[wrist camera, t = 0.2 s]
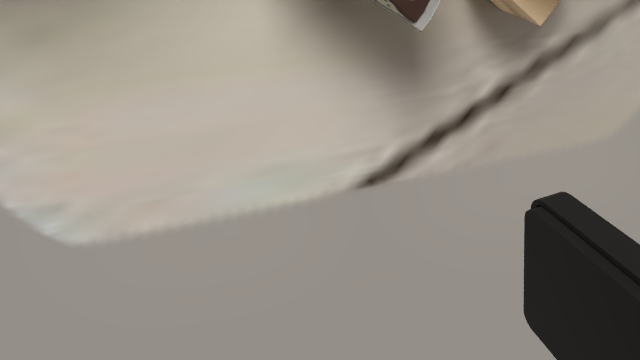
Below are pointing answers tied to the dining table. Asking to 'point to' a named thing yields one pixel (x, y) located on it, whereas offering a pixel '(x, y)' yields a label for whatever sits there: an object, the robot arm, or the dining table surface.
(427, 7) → the food container
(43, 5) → the dining table surface
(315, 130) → the dining table surface
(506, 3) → the oak block
